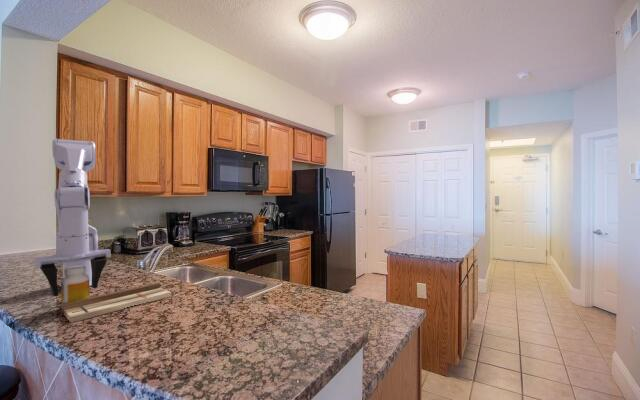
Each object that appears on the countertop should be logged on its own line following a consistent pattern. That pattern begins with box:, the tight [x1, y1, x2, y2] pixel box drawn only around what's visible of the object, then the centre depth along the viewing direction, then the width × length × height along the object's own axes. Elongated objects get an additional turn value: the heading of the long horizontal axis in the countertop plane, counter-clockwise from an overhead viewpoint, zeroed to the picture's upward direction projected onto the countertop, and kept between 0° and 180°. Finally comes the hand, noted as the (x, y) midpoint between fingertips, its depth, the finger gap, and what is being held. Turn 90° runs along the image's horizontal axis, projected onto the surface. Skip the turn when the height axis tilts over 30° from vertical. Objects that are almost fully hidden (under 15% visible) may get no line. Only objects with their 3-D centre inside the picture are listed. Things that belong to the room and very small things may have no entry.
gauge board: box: [62, 281, 172, 323], centre depth 76 cm, size 8×21×2 cm, turn 140°
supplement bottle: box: [60, 266, 91, 310], centre depth 74 cm, size 5×5×10 cm
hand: (75, 291), depth 74 cm, fingers open, 7 cm apart
